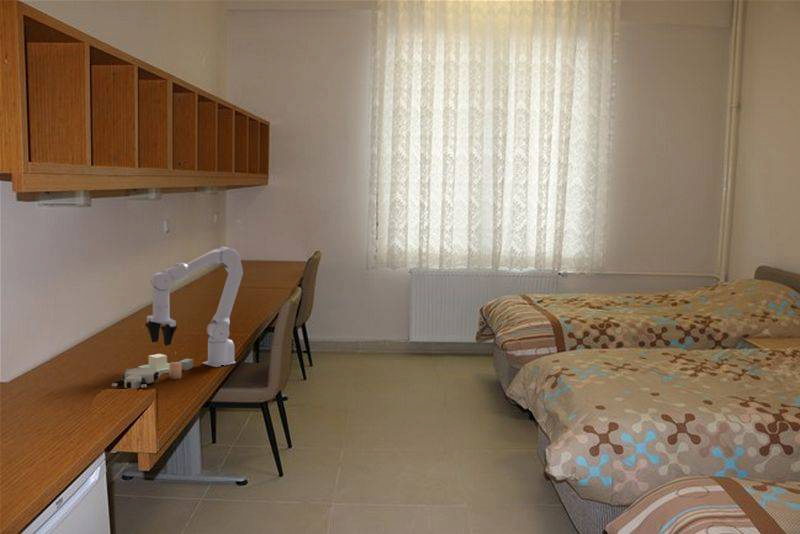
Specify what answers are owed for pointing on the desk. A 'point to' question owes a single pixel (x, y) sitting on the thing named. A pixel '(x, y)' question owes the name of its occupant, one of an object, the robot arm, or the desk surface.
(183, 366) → the slate block
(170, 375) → the pink rounded capsule
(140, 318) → the desk surface
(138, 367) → the tray
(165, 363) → the cream block
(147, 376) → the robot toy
